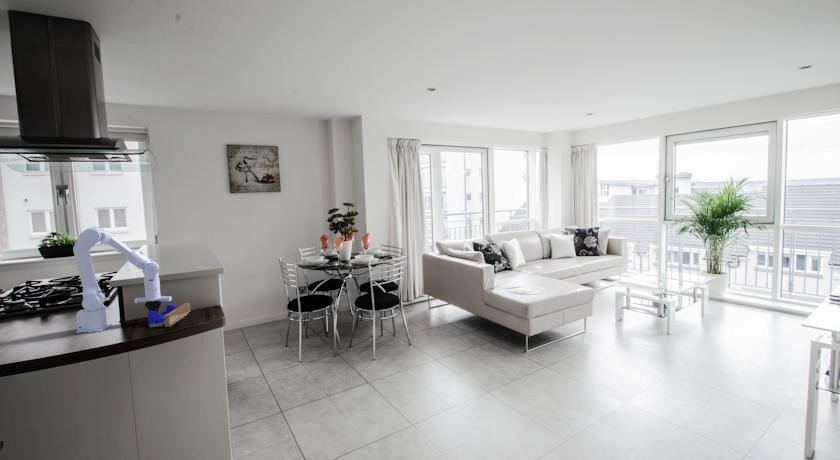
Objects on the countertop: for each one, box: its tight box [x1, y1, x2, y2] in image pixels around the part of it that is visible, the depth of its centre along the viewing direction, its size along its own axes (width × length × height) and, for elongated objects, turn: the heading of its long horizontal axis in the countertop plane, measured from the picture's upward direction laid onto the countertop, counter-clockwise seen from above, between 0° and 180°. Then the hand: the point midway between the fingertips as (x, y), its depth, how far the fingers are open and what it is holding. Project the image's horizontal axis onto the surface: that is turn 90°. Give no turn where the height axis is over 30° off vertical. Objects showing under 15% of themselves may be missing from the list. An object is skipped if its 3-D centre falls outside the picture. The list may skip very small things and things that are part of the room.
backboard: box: [164, 302, 192, 328], centre depth 177 cm, size 2×21×5 cm, turn 9°
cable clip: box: [147, 303, 176, 326], centre depth 175 cm, size 12×4×6 cm, turn 170°
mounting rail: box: [148, 321, 165, 328], centre depth 176 cm, size 7×18×2 cm, turn 9°
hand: (154, 317), depth 175 cm, fingers closed
